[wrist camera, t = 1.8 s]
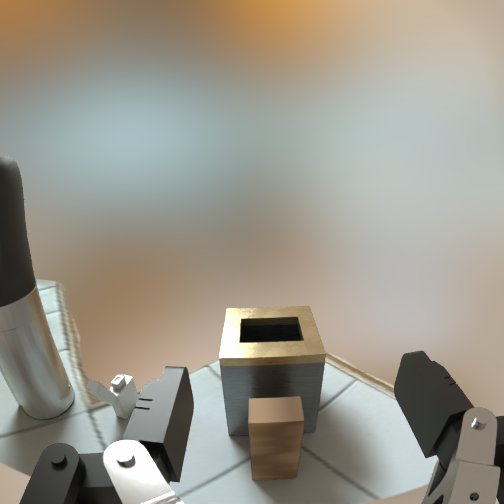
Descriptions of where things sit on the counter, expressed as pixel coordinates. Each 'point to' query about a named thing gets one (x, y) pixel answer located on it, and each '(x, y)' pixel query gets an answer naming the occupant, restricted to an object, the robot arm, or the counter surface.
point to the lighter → (117, 394)
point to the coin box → (270, 361)
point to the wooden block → (275, 436)
